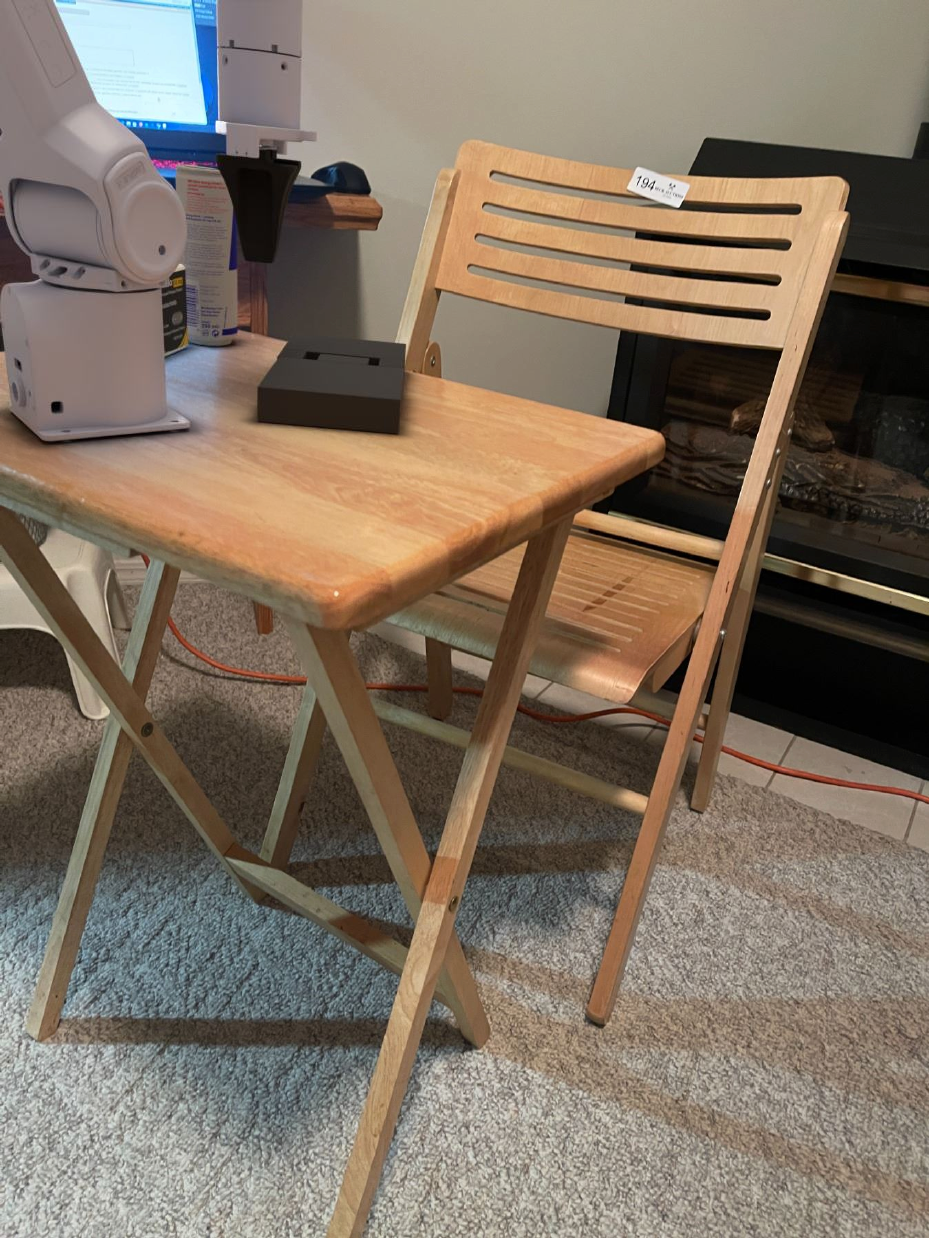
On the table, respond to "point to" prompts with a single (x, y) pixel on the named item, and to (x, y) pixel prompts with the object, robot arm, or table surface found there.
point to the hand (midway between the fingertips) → (259, 261)
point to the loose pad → (332, 394)
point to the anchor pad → (345, 349)
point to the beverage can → (209, 255)
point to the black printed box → (175, 312)
